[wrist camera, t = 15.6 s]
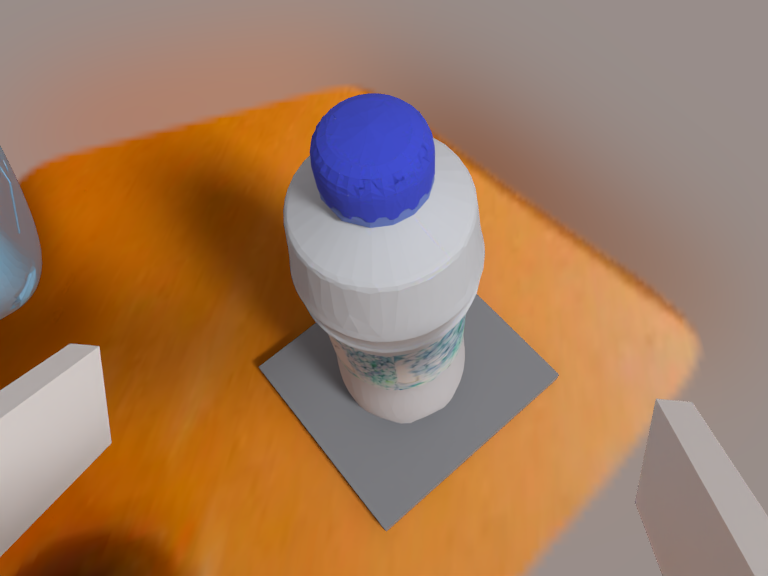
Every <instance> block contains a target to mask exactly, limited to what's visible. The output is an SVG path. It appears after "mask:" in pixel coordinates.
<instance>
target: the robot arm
mask: <svg viewBox="0 0 768 576" xmlns="http://www.w3.org/2000/svg"><path fill="white" fill-rule="evenodd" d="M41 270H42V254H41V246H40V241H39V237H38V233H37V230H36V226H35V223H34V220H33V217H32V215H31V212H30V209H29V207H28V204H27V202H26V199H25V197H24V194H23V192H22V190H21V187H20V185H19V183H18V181H17V179H16V177H15V174H14V172H13V170H12V168H11V166H10V164H9V162H8V160H7V158H6V156H5V154H4V152H3V150H2V148H1V146H0V320H1V319H2V318H4V317H6V316H8V315H9V314H11V313H13V312H14V311H16V310H17V309H19V308H20V307H21V306H23V305H24V304H25V303H26V302H27V301H28V300H29V299H30V297H31V296H32V295H33V293H34V292H35V290H36V288H37V286H38V283H39V280H40V276H41ZM111 443H112V442H111V434H110V426H109V419H108V411H107V403H106V395H105V387H104V379H103V371H102V364H101V356H100V348H99V346H92V345H81V344H69V345H67V346H66V347H64V348H63V349H61V350H60V351H58V352H57V353H55V354H54V355H52V356H51V357H49V358H48V359H46V360H45V361H43V362H42V363H40V364H39V365H37V366H36V367H34V368H33V369H31V370H30V371H28V372H27V373H25V374H24V375H22V376H21V377H20V378H18V379H17V380H15V381H14V382H12V383H11V384H9V385H8V386H6V387H5V388H3V389H2V390H0V556H1V555H2V554H3V553H4V552H5V551H6V550H7V549H8V548H9V547H10V546H11V545H12V544H13V543H14V542H15V541H16V540H17V539H18V538H19V537H20V536H21V535H22V534H23V533H24V532H25V531H26V530H27V529H28V528H29V527H30V526H31V525H32V524H33V523H34V522H35V521H36V520H37V519H38V518H39V517H40V516H41V515H42V514H43V513H44V511H45V510H46V509H47V508H48V507H49V506H50V505H51V504H52V503H53V502H54V501H55V500H56V499H57V498H58V497H59V496H60V495H61V494H62V493H63V492H64V491H65V490H66V489H67V488H68V487H69V486H70V485H71V484H72V483H73V482H74V481H75V480H76V479H77V478H78V477H79V476H80V475H81V474H82V473H83V472H84V471H85V470H86V469H87V468H88V467H89V465H90V464H91V463H92V462H93V461H94V460H95V459H96V458H97V457H98V456H99V455H100V454H101V453H102V452H103V451H104V450H105V449H106V448H107V447H108V446H109V445H110V444H111ZM635 504H636V506H637V509H638V512H639V514H640V517H641V519H642V522H643V525H644V528H645V530H646V533H647V535H648V538H649V541H650V544H651V546H652V549H653V551H654V554H655V557H656V560H657V562H658V565H659V568H660V570H661V573H662V576H768V516H767V514H766V513H765V511H764V510H763V508H762V507H761V505H760V504H759V502H758V501H757V499H756V498H755V497H754V495H753V494H752V492H751V490H750V489H749V487H748V486H747V484H746V483H745V481H744V480H743V478H742V477H741V475H740V474H739V472H738V471H737V469H736V468H735V466H734V465H733V463H732V462H731V460H730V458H729V457H728V455H727V454H726V452H725V451H724V449H723V448H722V447H721V445H720V444H719V442H718V440H717V439H716V437H715V436H714V434H713V433H712V431H711V430H710V428H709V427H708V425H707V424H706V422H705V421H704V419H703V418H702V416H701V415H700V413H699V412H698V410H697V409H696V407H695V406H694V404H693V403H692V402H685V401H674V400H664V399H656V401H655V406H654V411H653V416H652V421H651V426H650V431H649V436H648V440H647V445H646V450H645V455H644V460H643V465H642V470H641V475H640V480H639V485H638V490H637V495H636V500H635Z"/></svg>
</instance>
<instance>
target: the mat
mask: <svg viewBox="0 0 768 576" xmlns="http://www.w3.org/2000/svg"><path fill="white" fill-rule="evenodd" d="M463 336H464V346H465V362H464V370H463V374H462V377H461V380H460V383H459V385H458V387H457V389H456V391H455V393H454V395H453V397H452V399H451V400H450V401H449V402H448V404H447V405H446V406H445V407H444V408H442V409H440V410H438V411H436V412H434V413H432V414H430V415H429V416H426V417H424V418H421V419H419V420H416V421H414V422H412V423H402V424H400V423H396V422H394V421H390V420H387V419H384V418H380V417H378V416H376V415H373V414H371V413H369V412H367V411H365V410H364V409H363V408H362V407H361V406H359V405H358V403H357V402H356V401H355V400H354V398H353V397H352V395H351V394H350V393H349V391H348V389H347V387H346V385H345V383H344V381H343V378H342V375H341V372H340V369H339V364H338V359H337V354H336V352H335V349H334V347H333V345H332V342H331V340H330V337H329V335H328V333H327V332H326V331H324V330H323V329H322V327H321V326H320V325H319V324H318V323H317V322H316V323H315V324H314V325H312V326H311V327H310V328H309V329H307V330H306V331H305V332H303V333H302V334H301V335H299V336H298V337H297V338H296V339H294V340H293V341H292V342H290V343H289V344H288V345H287V346H285V347H284V348H283V349H281V350H280V351H279V352H277V353H276V354H275V355H274V356H272V357H271V358H270V359H268V360H267V361H266V362H264V363H263V364H262V365H261V366H259V368H260V370H261V371H262V372H263V373H264V375H265V376H266V377H267V379H268V380H269V381H270V382H271V384H272V385H273V386H274V388H275V389H276V390H277V391H278V393H279V394H280V395H281V397H282V398H283V399H284V400H285V402H286V403H287V404H288V406H289V407H290V408H291V409H292V411H293V412H294V413H295V415H296V416H297V417H298V418H299V420H300V421H301V422H302V424H303V425H304V426H305V427H306V429H307V430H308V431H309V433H310V434H311V435H312V436H313V438H314V439H315V440H316V442H317V443H318V444H319V445H320V447H321V448H322V449H323V451H324V452H325V453H326V454H327V456H328V457H329V458H330V460H331V461H332V462H333V464H334V465H335V466H336V467H337V469H338V470H339V471H340V473H341V474H342V475H343V476H344V478H345V479H346V480H347V482H348V483H349V484H350V485H351V487H352V488H353V489H354V491H355V492H356V493H357V494H358V496H359V497H360V498H361V500H362V501H363V502H364V503H365V505H366V506H367V507H368V509H369V510H370V511H371V512H372V514H373V515H374V516H375V518H376V519H377V520H378V521H379V523H380V524H381V525H382V527H383V528H384V529H385V530H386V531H387V530H389V529H390V528H391V527H392V526H393V525H394V524H395V523H396V522H398V521H399V520H400V519H401V518H402V517H403V516H404V515H405V514H406V513H408V512H409V511H410V510H411V509H412V508H413V507H414V506H415V505H417V504H418V503H419V502H420V501H421V500H422V499H423V498H424V497H425V496H427V495H428V494H429V493H430V492H431V491H432V490H433V489H434V488H436V487H437V486H438V485H439V484H440V483H441V482H442V481H443V480H444V479H446V478H447V477H448V476H449V475H450V474H451V473H452V472H453V471H454V470H456V469H457V468H458V467H459V466H460V465H461V464H462V463H463V462H465V461H466V460H467V459H468V458H469V457H470V456H471V455H472V454H473V453H475V452H476V451H477V450H478V449H479V448H480V447H481V446H482V445H484V444H485V443H486V442H487V441H488V440H489V439H490V438H491V437H492V436H494V435H495V434H496V433H497V432H498V431H499V430H500V429H501V428H502V427H504V426H505V425H506V424H507V423H508V422H509V421H510V420H511V419H513V418H514V417H515V416H516V415H517V414H518V413H519V412H520V411H521V410H523V409H524V408H525V407H526V406H527V405H528V404H529V403H530V402H532V401H533V400H534V399H535V398H536V397H537V396H538V395H539V394H540V393H542V392H543V391H544V390H545V389H546V388H547V387H548V386H549V385H550V384H552V383H553V382H554V381H555V380H556V379H557V377H558V376H559V374H558V373H557V372H556V371H555V370H554V369H553V368H552V367H551V366H550V365H549V364H548V363H547V362H546V361H545V360H544V359H543V358H542V357H541V356H539V355H538V354H537V353H536V352H535V351H534V350H533V349H532V348H531V347H530V346H529V345H528V344H527V343H526V342H525V341H524V340H523V339H522V338H521V337H520V336H519V335H518V334H517V333H516V332H515V331H514V330H513V329H512V328H511V327H510V326H509V325H508V324H507V323H506V322H505V321H504V320H503V319H502V318H501V317H500V316H499V315H498V314H497V313H496V312H494V311H493V310H492V309H491V308H490V307H489V306H488V305H487V304H486V303H485V302H484V301H483V300H482V299H481V298H480V297H479V296H478V295H477V294H476V295H475V298H474V300H473V302H472V304H471V306H470V308H469V309H468V311H467V313H466V317H465V325H464V334H463Z"/></svg>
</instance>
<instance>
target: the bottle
mask: <svg viewBox="0 0 768 576" xmlns="http://www.w3.org/2000/svg"><path fill="white" fill-rule="evenodd" d="M283 212H284V228H285V233H286V239H287V244H288V250H289V258H290V270H291V275H292V279H293V283H294V286H295V288H296V291H297V293H298V295H299V297H300V298H301V300H302V301H303V303H304V304H305V306H306V307H307V309H308V311H309V313H310V315H311V316H312V317H313V319H314V320H315V321H316V322H317V323H318V324H319V325H320V326H321V327H322V329H323V330H324V331H326V332H327V333H328V335H329V337H330V340H331V342H332V345H333V347H334V349H335V352H336V354H337V359H338V364H339V369H340V372H341V375H342V378H343V381H344V383H345V385H346V387H347V389H348V391H349V393H350V394H351V395H352V397H353V398H354V400H355V401H356V402H357V403H358V405H359V406H361V407H362V408H363V409H364V410H365V411H367V412H369V413H371V414H373V415H376V416H378V417H380V418H384V419H387V420H390V421H394V422H396V423H400V424H402V423H412V422H414V421H416V420H419V419H421V418H424V417H426V416H429V415H430V414H432V413H434V412H436V411H438V410H440V409H442V408H444V407H445V406H446V405H447V404H448V402H449V401H450V400H451V399H452V397H453V395H454V393H455V391H456V389H457V387H458V385H459V383H460V380H461V377H462V374H463V370H464V362H465V346H464V336H463V334H464V325H465V317H466V313H467V311H468V309H469V308H470V306H471V304H472V302H473V300H474V298H475V295H476V293H477V289H478V285H479V280H480V277H481V274H482V271H483V265H484V256H485V249H484V240H483V235H482V231H481V227H480V219H479V210H478V202H477V195H476V189H475V185H474V183H473V180H472V178H471V175H470V173H469V172H468V170H467V168H466V167H465V165H464V164H463V163H462V161H461V160H460V159H459V157H458V156H457V155H456V154H455V153H454V152H453V151H451V150H450V149H449V148H448V147H447V146H446V145H445V144H443V143H441V142H440V141H438V140H436V139H434V138H433V137H432V133H431V131H430V128H429V126H428V124H427V122H426V120H425V119H424V118H423V117H422V115H421V114H420V112H419V111H417V110H416V109H415V108H414V107H413V106H412V105H410V104H408V103H406V102H404V101H403V100H401V99H398V98H396V97H393V96H390V95H385V94H363V95H357V96H354V97H351V98H348V99H346V100H344V101H342V102H340V103H339V104H337V105H336V106H334V107H333V108H332V109H330V110H329V112H328V113H327V114H326V115H325V116H323V117H322V119H321V121H320V122H319V123H318V125H317V126H316V130H315V132H314V134H313V135H312V140H311V147H310V156H309V157H308V158H307V159H306V160H305V161H304V162H303V163H302V165H301V166H300V168H299V169H298V170H297V172H296V173H295V174H294V176H293V179H292V181H291V183H290V185H289V188H288V190H287V194H286V197H285V203H284V209H283Z"/></svg>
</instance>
